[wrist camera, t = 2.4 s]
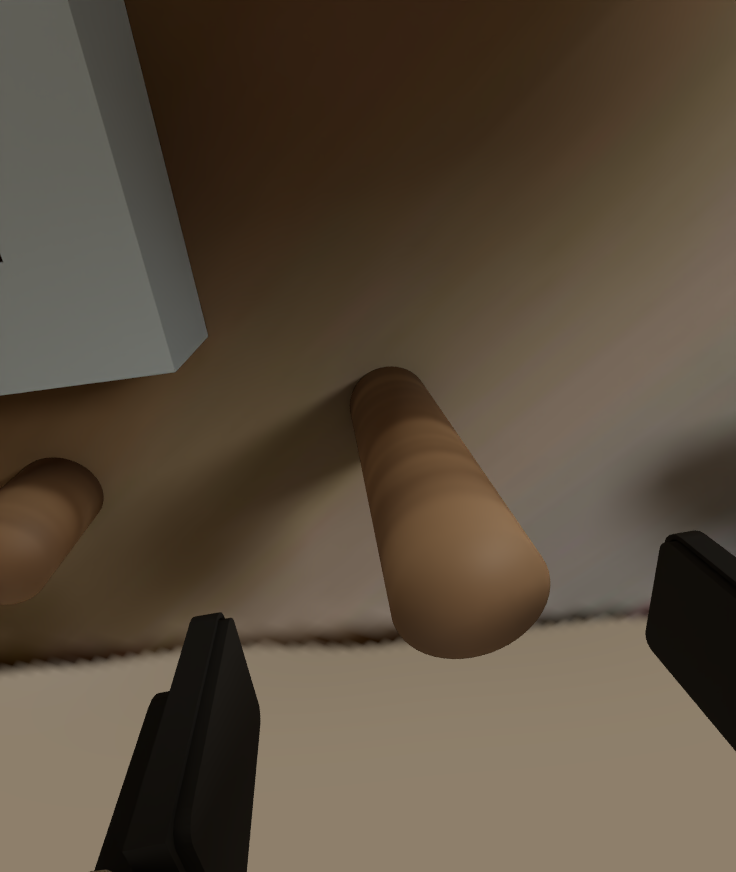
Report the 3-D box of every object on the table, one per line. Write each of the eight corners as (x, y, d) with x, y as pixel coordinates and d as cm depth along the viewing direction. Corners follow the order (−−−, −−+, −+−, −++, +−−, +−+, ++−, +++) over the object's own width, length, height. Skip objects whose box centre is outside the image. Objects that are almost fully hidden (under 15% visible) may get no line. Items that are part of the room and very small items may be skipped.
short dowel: (4, 463, 20) (-85, 533, 16) (87, 452, 20) (23, 517, 16) (37, 530, 22) (-36, 611, 17) (114, 519, 22) (62, 596, 17)
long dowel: (345, 372, 20) (383, 547, 9) (425, 361, 20) (554, 520, 10) (354, 445, 22) (397, 670, 11) (429, 434, 22) (546, 645, 11)
